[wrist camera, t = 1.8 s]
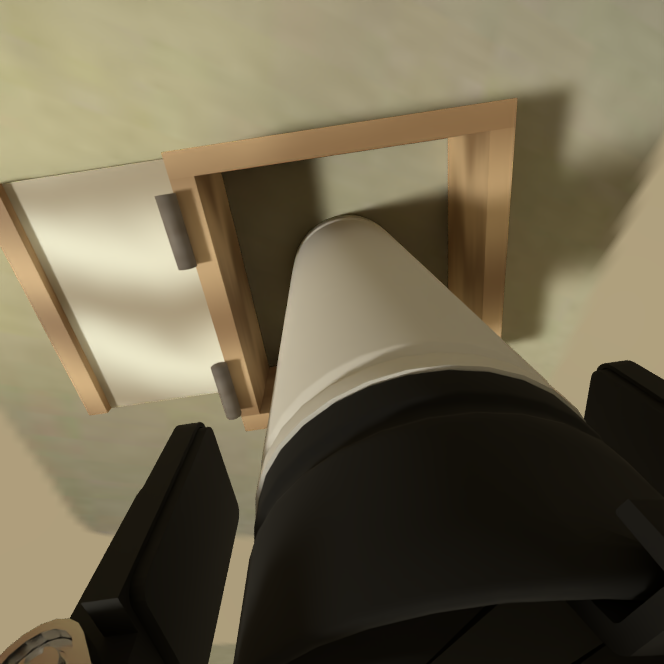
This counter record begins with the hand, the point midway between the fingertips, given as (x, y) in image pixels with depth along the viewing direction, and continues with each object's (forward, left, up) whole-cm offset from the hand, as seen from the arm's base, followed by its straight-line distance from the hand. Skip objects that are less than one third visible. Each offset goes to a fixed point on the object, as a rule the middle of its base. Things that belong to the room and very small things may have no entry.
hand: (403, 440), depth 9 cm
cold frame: (-1, -6, -14) cm, 15 cm away
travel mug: (-1, 0, -15) cm, 14 cm away
